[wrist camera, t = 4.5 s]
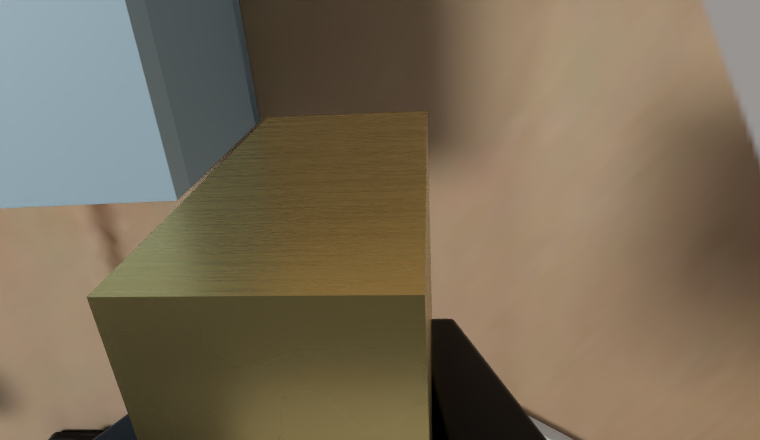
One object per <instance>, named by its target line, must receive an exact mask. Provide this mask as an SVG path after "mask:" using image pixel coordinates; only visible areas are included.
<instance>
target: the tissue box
mask: <svg viewBox="0 0 760 440" xmlns="http://www.w3.org/2000/svg"><path fill="white" fill-rule="evenodd" d="M259 121H260V117H259V112H258V106H257V101H256V95H255V89H254V84H253V78H252V72H251V67H250V61H249V55H248V50H247V44H246V39H245V33H244V27H243V22H242V16H241V10H240V5H239V0H0V208H16V207H39V206H62V205H85V204H108V203H131V202H154V201H177V200H178V199H179V198H180V197H181V196H182V195H183V194H184V193H186V192H187V191H188V190H189V189H190V188H191V187H192V186H193V185H194V184H195V183H196V182H197V181H198V180H199V179H200V178H201V177H202V176H203V175H204V174H205V173H206V172H207V171H208V170H209V169H210V168H212V167H213V166H214V165H215V164H216V163H217V162H218V161H219V160H220V159H221V158H222V157H223V156H224V155H225V154H226V153H227V152H228V151H229V150H230V149H231V148H232V147H233V146H234V145H235V144H236V143H237V142H239V141H240V140H241V139H242V138H243V137H244V136H245V135H246V134H247V133H248V132H249V131H250V130H251V129H252V128H253V127H254V126H255V125H256V124H257V123H258V122H259Z"/></svg>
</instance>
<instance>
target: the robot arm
mask: <svg viewBox="0 0 760 440" xmlns="http://www.w3.org/2000/svg"><path fill="white" fill-rule="evenodd" d="M431 363H432V414H433V440H547V439H546V438H545V437H544V435H543V434H542V433H541V432H540V430H539V429H538V428H537V426H536V425H535V424H534V422H533V421H532V420H531V419H530V417H529V416H528V415H527V413H526V412H525V411H524V410H523V408H522V407H521V406H520V404H519V403H518V402H517V401H516V399H515V398H514V397H513V395H512V394H511V393H510V392H509V390H508V389H507V388H506V386H505V385H504V384H503V383H502V381H501V380H500V379H499V377H498V376H497V375H496V374H495V372H494V371H493V370H492V368H491V367H490V366H489V365H488V363H487V362H486V361H485V359H484V358H483V357H482V356H481V354H480V353H479V352H478V350H477V349H476V348H475V347H474V345H473V344H472V343H471V341H470V340H469V339H468V338H467V336H466V335H465V334H464V332H463V331H462V330H461V328H460V327H459V326H458V325H457V323H456V322H455V321H454V320H453V319H431ZM48 440H137V437H136V434H135V431H134V429H133V426H132V423H131V420H130V417H129V414H127V415H126V416H124V417H123V418H122V419H120V420H119V421H118V422H116V423H115V424H114V425H112V426H111V427H109V428H108V429H107V430H105V431H104V432H56V433H54V434H52V436H51V437H50V438H49V439H48Z"/></svg>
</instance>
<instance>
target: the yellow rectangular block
mask: <svg viewBox="0 0 760 440" xmlns="http://www.w3.org/2000/svg"><path fill="white" fill-rule="evenodd" d="M87 299H88V302H89V305H90V308H91V310H92V313H93V316H94V319H95V322H96V324H97V327H98V330H99V333H100V336H101V338H102V341H103V344H104V347H105V350H106V353H107V355H108V358H109V361H110V364H111V367H112V369H113V372H114V375H115V378H116V381H117V383H118V386H119V389H120V392H121V395H122V398H123V400H124V403H125V406H126V409H127V412H128V414H129V417H130V420H131V423H132V426H133V429H134V431H135V434H136V437H137V440H433V414H432V363H431V319H432V295H431V254H430V213H429V173H428V132H427V111H415V112H391V113H366V114H341V115H317V116H292V117H267V118H266V119H265V120H264V121H263V122H262V123H261V124H260V125H259V126H258V127H257V128H256V129H255V130H254V131H253V132H252V133H251V134H250V135H249V136H248V137H247V138H246V139H245V140H244V141H243V142H242V143H241V144H240V145H239V146H238V147H237V148H236V149H235V150H234V151H233V152H232V153H231V154H230V155H229V156H228V157H227V158H226V159H225V160H224V161H223V162H222V163H221V164H220V165H219V166H218V167H217V168H216V169H215V170H214V171H213V172H212V173H211V174H210V175H209V176H208V177H207V178H206V179H205V180H204V181H203V182H202V183H201V184H200V185H199V186H198V187H197V188H196V189H195V190H194V191H193V192H192V193H191V194H190V195H189V196H188V197H187V198H186V199H185V200H184V201H183V202H182V203H181V204H180V205H179V206H178V207H177V208H176V209H175V210H174V211H173V212H172V213H171V214H170V215H169V216H168V217H167V218H166V219H165V220H164V221H163V222H162V223H161V224H160V225H159V226H158V227H157V228H156V229H155V230H154V231H153V232H152V233H151V234H150V235H149V236H148V237H147V238H146V239H145V240H144V241H143V242H142V243H141V244H140V245H139V246H138V247H137V248H136V249H135V250H134V251H133V252H132V253H131V254H130V255H129V256H128V257H127V258H126V259H125V260H124V261H123V262H122V263H121V264H120V265H119V266H118V267H117V268H116V269H115V270H114V271H113V272H112V273H111V274H110V275H109V276H108V277H107V278H106V279H105V280H104V281H103V282H102V283H101V284H100V285H99V286H98V287H97V288H96V289H95V290H93V291H92V292H91V293H90V294H89V295H88V296H87Z"/></svg>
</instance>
